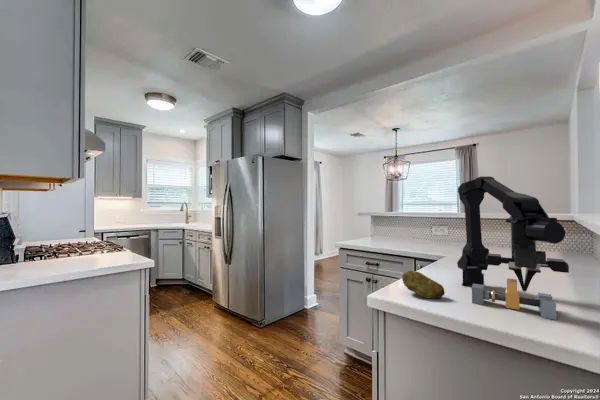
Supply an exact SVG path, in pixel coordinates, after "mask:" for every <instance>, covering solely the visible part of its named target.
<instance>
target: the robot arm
mask: <svg viewBox="0 0 600 400" xmlns="http://www.w3.org/2000/svg"><path fill="white" fill-rule="evenodd" d="M457 193H458V197H459V200H460V202H461V203H462V204H463V206H464V217H465V218H464V219H465V233H466V234H465V235H466V243H465V245H464V247H463V248H462V251H461V252H462V253H461V256H460V258H459V259H458V260H457V262H456V263H457V264H456V265H457V268H458V269H460V270H462V283H461V286H465V287H471V288H472V285H473V284H481V285H484V286H485V274H484V273H483V271H488V266H497V267H499V266H501V264H507V266H508V270H511V271H513V272H514V274H515V276H516V277H517V278H516V279H518V283H519V285H520V288H521V290H522V292H527V290H528V288H529V286H530V283H531V281H532V279H533V277H534V276H535V275H536V274H537V273H538V274H539V273H542V270H541V268H547V269H548V268H549V269H550V270H551V271H552V272H554V273H555V272H557V273H566V274H569V273H570V267H569V263H567V261H565V260H564V259H563V258H550V257H547V253H546V251H543V250H542V251H541V250H537V242H541V243H548V244H554V245H555V244H559V243H561V242H562V241H563V240H564V239H565V238H566V230H565V229H564V227H563V225H562V224H561V223H559V222H558V218H557V217H549V215H548V213H547V212H546V211H545V210H544V208H543V206H542V205H541V204H540V200H538V199H537V197H535V196H533V195H532V196H531V195H528V194H525V193H521V192H516V191H514V190H513V189H511V188H509V187H507V185H505V184H503V183H501V182H500V181H498V180H497V179H496V178H494V177H493V176H491V175H490V176H478V177H476V178H474V179H471V180H469V181H465V182H462V183H461V184H460V185H459V186H458V187H457ZM486 193H487V194H489V195H490V196H491V197H493V198H494V199H496V200H497V201H499V202H500V203H501V204H502V208H503V210H504V211H505V212H506V213H507V214H508V215H509V217H508V218H507V219H506V220H505V223H507V224H508V223H509V224H510V236H511V237H510V240H511V241H510V242H511V257H503V256H502V254H499V253H490V250H489V248H488V247H486V246H484V243H483V240H482V239H483V237H482V235H483V234H482V222H481V204H482V202H484V201H483V200H484V199H485V194H486ZM522 268H525V275H524V278H523V272H522V271H523V270H522Z"/></svg>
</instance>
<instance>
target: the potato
mask: <svg viewBox="0 0 600 400" xmlns="http://www.w3.org/2000/svg"><path fill="white" fill-rule="evenodd" d="M401 278H402V282H403V284H404V286H405V287H406V289H407V290H409V291H411V292H413V293H414V294H416V295H417V296H419V297H422V298H426V299H439V298H441V297H443V296H444V295H445V292H446V291H445V288H444V287H443V285H442V284H440V283H439V282H437V281H435V280H433V279H432V278H430V277H428V276H426V275H425V274H423V273H421V272H419V271H415V270H409V271H406V272H405V273H403V275H402V276H401Z"/></svg>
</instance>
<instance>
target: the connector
mask: <svg viewBox="0 0 600 400" xmlns="http://www.w3.org/2000/svg"><path fill="white" fill-rule="evenodd" d="M489 292H490V290H485V284H484V285H481V284H473V285H472V287H471V303H472V304H475V305H476V304H477V305H481V306H482V305H483V306H484V303H485V300H486V301H490V299H489Z"/></svg>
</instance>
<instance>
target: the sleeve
mask: <svg viewBox="0 0 600 400" xmlns="http://www.w3.org/2000/svg"><path fill="white" fill-rule="evenodd" d="M504 292H505V294H504V295H506V301H505V308H508V309H513V310H520V304H519V297H520V292H519V290H518V281H517V278H506V289H505V291H504Z"/></svg>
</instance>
